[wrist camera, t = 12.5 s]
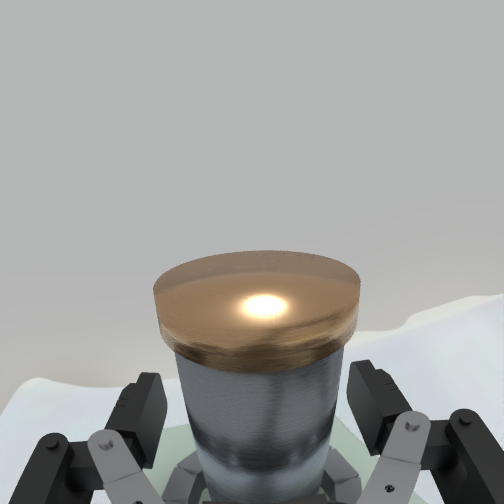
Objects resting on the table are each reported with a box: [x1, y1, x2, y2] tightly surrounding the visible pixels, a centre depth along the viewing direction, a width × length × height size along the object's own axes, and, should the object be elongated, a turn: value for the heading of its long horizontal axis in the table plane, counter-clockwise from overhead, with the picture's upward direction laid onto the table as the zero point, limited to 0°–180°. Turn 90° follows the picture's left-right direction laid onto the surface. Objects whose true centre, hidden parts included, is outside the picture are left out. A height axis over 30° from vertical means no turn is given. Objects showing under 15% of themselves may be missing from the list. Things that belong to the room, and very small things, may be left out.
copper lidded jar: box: [153, 251, 360, 504], centre depth 11 cm, size 6×6×14 cm
